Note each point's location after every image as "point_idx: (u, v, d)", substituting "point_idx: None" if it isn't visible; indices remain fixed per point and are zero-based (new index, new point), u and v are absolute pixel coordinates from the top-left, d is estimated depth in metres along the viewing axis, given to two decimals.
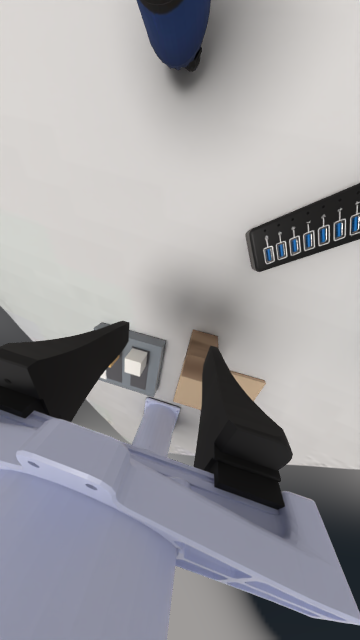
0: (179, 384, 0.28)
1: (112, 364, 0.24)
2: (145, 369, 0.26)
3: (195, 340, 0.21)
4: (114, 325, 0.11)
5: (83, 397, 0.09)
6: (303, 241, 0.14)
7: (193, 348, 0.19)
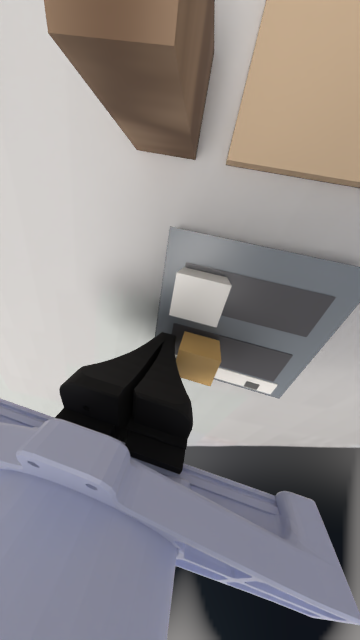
0: (344, 171, 0.08)
1: (217, 355, 0.10)
2: (245, 282, 0.10)
3: None
4: (159, 338, 0.11)
5: None
6: None
7: None
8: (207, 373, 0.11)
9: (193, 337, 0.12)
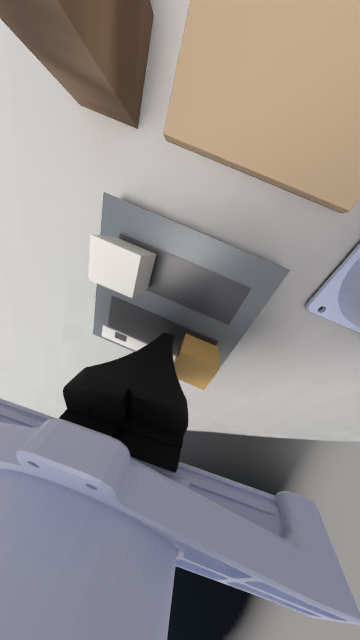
0: (265, 167, 0.08)
1: (216, 362, 0.11)
2: (174, 263, 0.10)
3: None
4: (160, 338, 0.11)
5: None
6: None
7: None
8: (204, 378, 0.11)
9: (194, 340, 0.12)
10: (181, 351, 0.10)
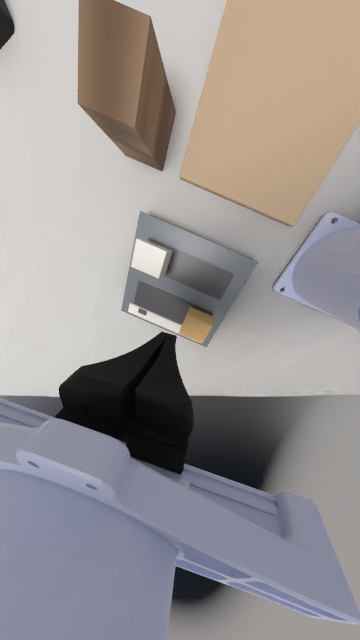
0: (241, 198, 0.14)
1: (210, 322, 0.16)
2: (184, 257, 0.16)
3: None
4: (158, 338, 0.11)
5: None
6: None
7: None
8: (202, 333, 0.16)
9: (195, 311, 0.17)
10: (187, 314, 0.16)
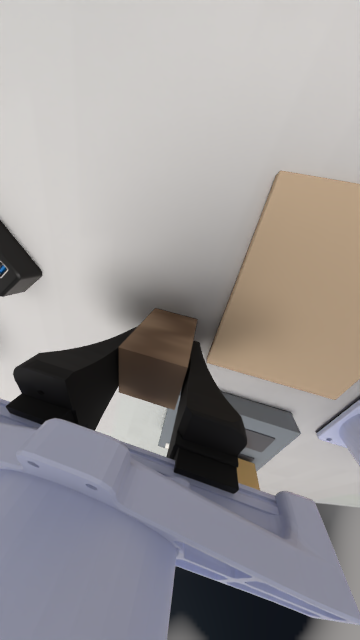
0: (274, 379, 0.14)
1: (257, 487, 0.15)
2: None
3: None
4: (133, 330, 0.11)
5: (106, 405, 0.09)
6: None
7: None
8: None
9: None
10: None
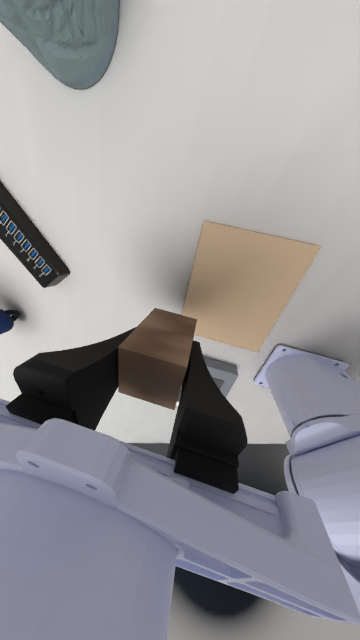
0: (220, 339, 0.21)
1: None
2: None
3: None
4: (133, 330, 0.11)
5: (106, 404, 0.09)
6: (28, 249, 0.19)
7: None
8: None
9: None
10: None
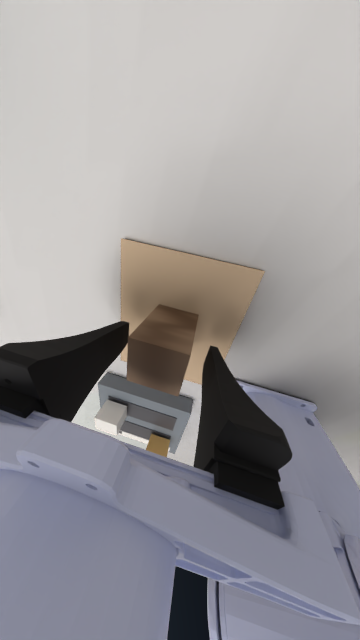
0: None
1: (165, 456, 0.20)
2: (137, 407, 0.20)
3: None
4: (114, 325, 0.11)
5: (83, 397, 0.09)
6: None
7: None
8: None
9: (155, 439, 0.21)
10: None
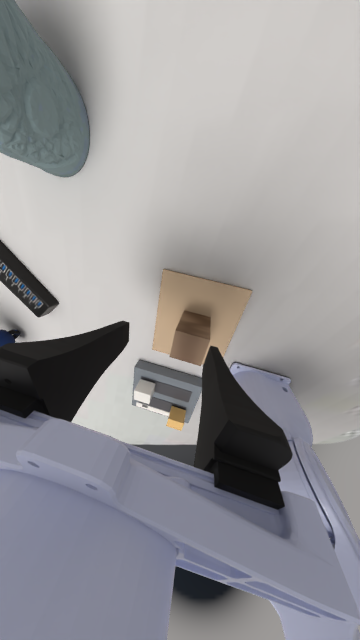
0: None
1: (183, 420, 0.27)
2: (162, 384, 0.27)
3: None
4: (114, 325, 0.11)
5: (83, 397, 0.09)
6: (23, 289, 0.24)
7: None
8: (179, 426, 0.28)
9: (175, 409, 0.29)
10: (169, 418, 0.27)
